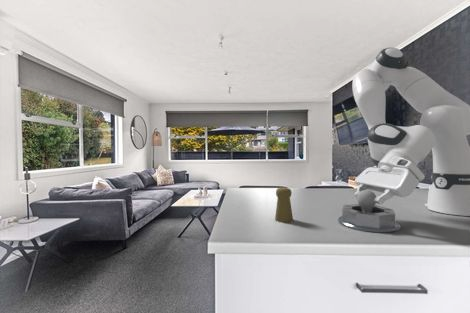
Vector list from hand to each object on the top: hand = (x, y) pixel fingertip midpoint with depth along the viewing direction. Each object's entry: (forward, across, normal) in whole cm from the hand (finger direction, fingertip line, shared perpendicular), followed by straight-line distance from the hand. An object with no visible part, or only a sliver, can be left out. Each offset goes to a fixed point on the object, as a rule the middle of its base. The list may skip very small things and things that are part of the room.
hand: (366, 199), depth 73 cm
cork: (+23, -9, -11) cm, 27 cm away
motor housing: (+5, 0, +6) cm, 8 cm away
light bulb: (+5, 0, +6) cm, 7 cm away
